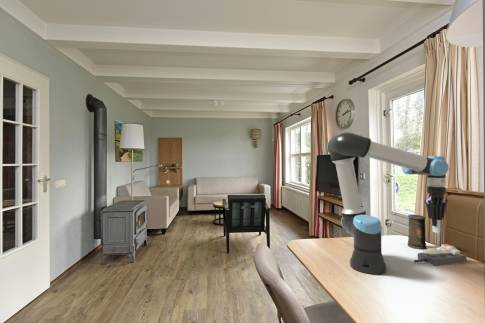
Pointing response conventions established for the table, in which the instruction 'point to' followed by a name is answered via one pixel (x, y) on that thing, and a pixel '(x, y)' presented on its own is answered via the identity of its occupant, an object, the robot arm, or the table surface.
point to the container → (416, 232)
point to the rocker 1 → (432, 251)
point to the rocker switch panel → (440, 258)
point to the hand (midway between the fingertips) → (436, 232)
